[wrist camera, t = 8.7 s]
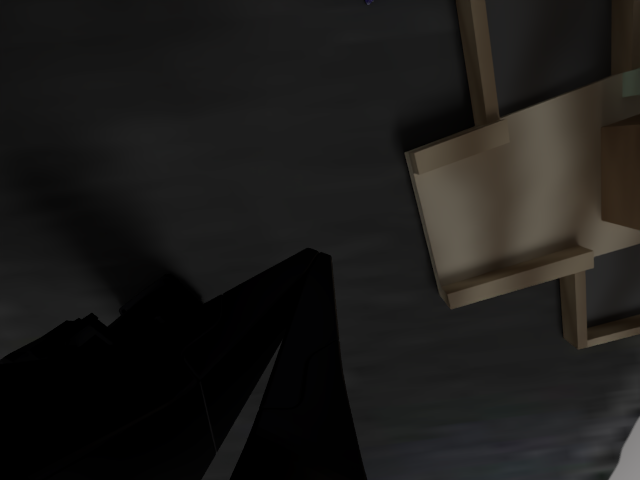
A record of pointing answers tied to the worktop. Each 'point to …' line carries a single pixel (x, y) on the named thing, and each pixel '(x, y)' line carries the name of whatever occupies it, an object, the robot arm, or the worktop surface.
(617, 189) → the walnut block
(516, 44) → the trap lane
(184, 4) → the worktop surface
